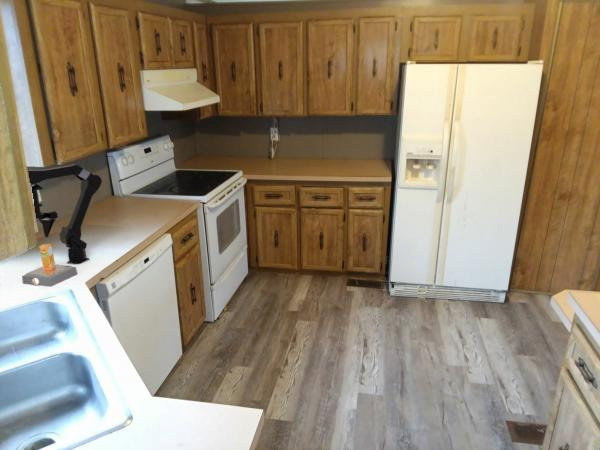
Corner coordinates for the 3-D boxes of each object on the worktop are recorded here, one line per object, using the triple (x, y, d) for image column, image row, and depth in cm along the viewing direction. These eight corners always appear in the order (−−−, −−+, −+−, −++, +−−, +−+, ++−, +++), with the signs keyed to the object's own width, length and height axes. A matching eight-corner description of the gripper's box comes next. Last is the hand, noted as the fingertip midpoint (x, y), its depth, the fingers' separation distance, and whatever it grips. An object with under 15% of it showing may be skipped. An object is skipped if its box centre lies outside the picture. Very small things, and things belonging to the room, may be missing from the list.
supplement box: (42, 271, 170) (38, 246, 168) (48, 268, 174) (43, 243, 171) (51, 271, 170) (46, 246, 168) (56, 267, 173) (52, 243, 171)
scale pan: (49, 265, 179) (49, 263, 178) (72, 267, 176) (71, 265, 175) (26, 275, 168) (25, 273, 168) (49, 277, 165) (49, 275, 165)
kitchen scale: (50, 271, 181) (49, 264, 180) (77, 274, 177) (76, 267, 176) (21, 284, 168) (20, 276, 167) (49, 287, 164) (48, 279, 163)
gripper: (34, 197, 186) (40, 233, 190) (-7, 206, 169) (0, 245, 173) (55, 197, 183) (61, 234, 187) (16, 207, 166) (23, 247, 170)
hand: (37, 240), depth 179 cm, fingers open, 9 cm apart
